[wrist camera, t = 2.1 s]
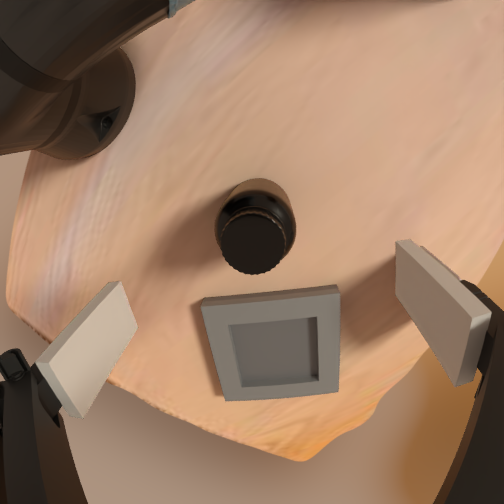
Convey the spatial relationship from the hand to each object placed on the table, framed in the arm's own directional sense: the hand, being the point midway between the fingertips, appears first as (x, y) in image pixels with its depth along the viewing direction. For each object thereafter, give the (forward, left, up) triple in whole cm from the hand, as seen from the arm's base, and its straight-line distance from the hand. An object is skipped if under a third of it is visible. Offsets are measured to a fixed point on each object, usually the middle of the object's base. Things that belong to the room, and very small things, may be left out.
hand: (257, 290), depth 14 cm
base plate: (-1, -19, -21) cm, 28 cm away
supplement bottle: (-1, -1, -21) cm, 21 cm away
